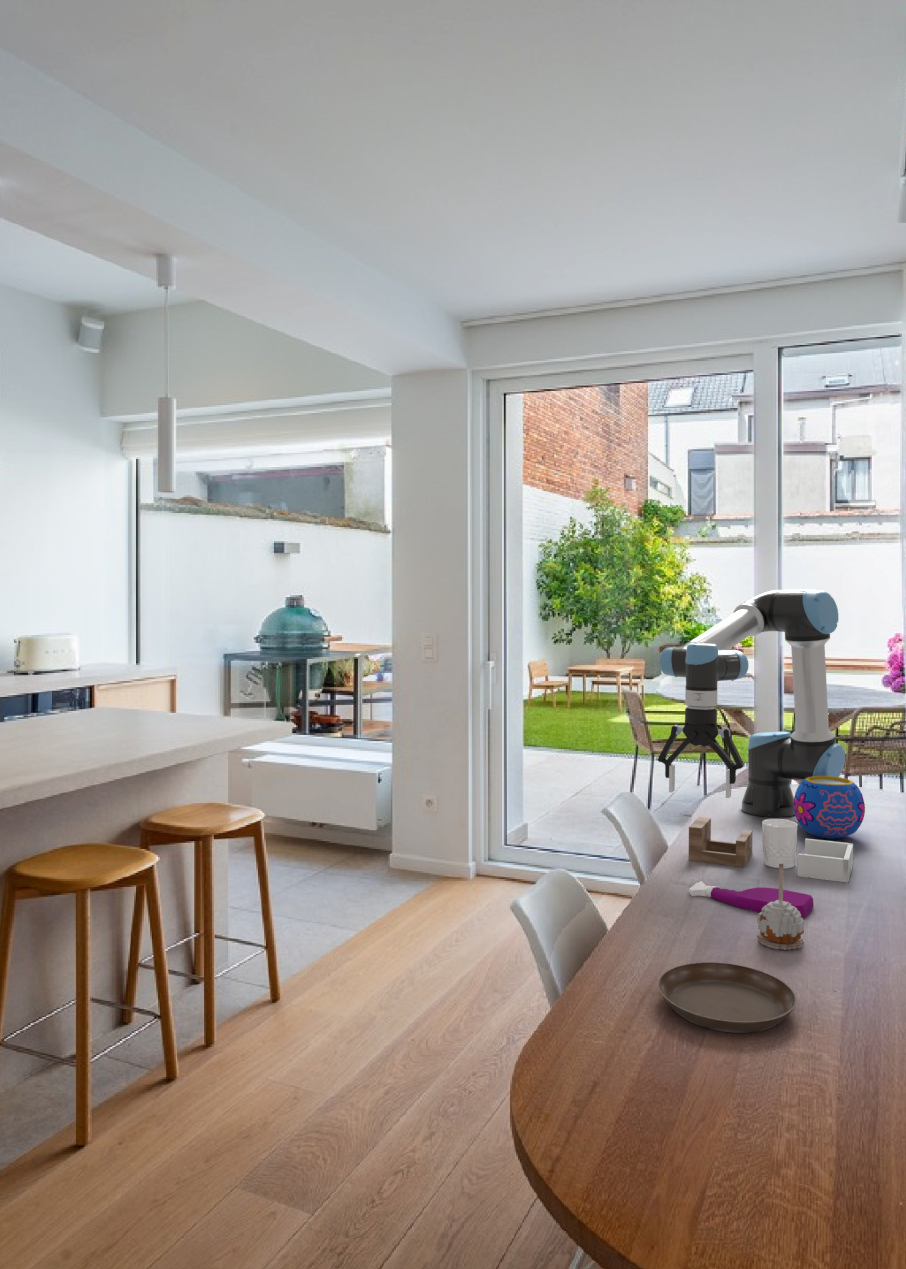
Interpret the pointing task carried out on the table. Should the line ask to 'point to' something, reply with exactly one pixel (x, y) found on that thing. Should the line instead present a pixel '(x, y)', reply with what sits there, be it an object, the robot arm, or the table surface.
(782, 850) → the white cup
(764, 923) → the candy apple
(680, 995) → the plant saucer
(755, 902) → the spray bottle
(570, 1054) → the table surface
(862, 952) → the table surface
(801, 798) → the ceramic pot
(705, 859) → the wooden cradle stand
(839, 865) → the box
